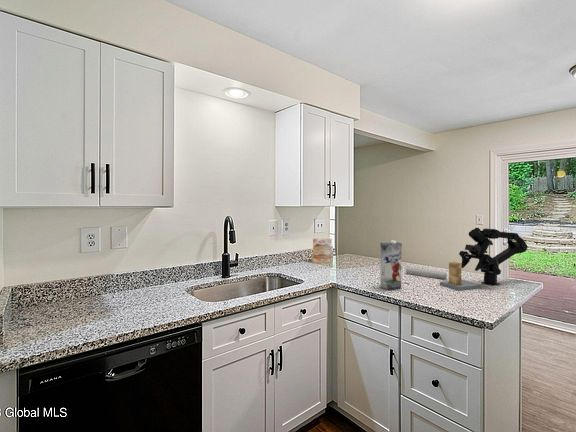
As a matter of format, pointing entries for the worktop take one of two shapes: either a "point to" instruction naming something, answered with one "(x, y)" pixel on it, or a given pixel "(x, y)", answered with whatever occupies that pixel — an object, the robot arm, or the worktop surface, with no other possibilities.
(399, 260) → the juice carton
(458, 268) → the pin
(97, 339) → the worktop surface
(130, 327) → the worktop surface
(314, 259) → the coffeecake box
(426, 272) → the tube
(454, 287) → the socket board
